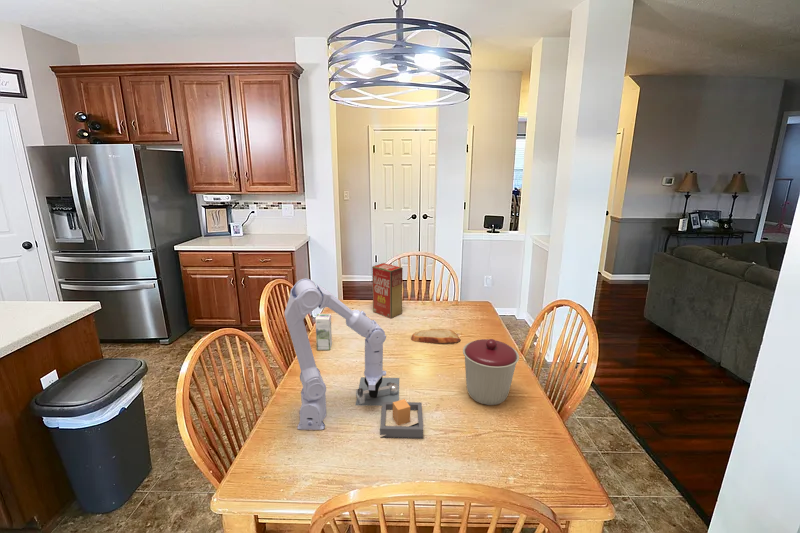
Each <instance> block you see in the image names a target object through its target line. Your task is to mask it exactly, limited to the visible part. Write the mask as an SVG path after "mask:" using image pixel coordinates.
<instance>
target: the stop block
mask: <svg viewBox="0 0 800 533" xmlns="http://www.w3.org/2000/svg"><path fill="white" fill-rule="evenodd" d="M407 402H408V401H407V400H406V399H405V398H403V399H399V401H396V402H393V410H392V420H394V422H395V424H396V426H402V425H405V424H407V423H408V424H409V423H410V422H411V410H410V406H409V404H408V403H407Z"/></svg>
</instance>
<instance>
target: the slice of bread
mask: <svg viewBox="0 0 800 533" xmlns="http://www.w3.org/2000/svg"><path fill="white" fill-rule="evenodd" d="M410 340H411V341H412V342H417V343H422V344H439V345H440V344H442V345H443V344H444V345H445V344H447V345H448V344H458V343H459V342H461V338H460V337H459V335H458V334H457V332H455V331H453V330H451V329H446V328H445V329H444V328H431V329H430V328H429V329H424V330H419V331H416V332H414V333H413V334H412V335H411V338H410Z"/></svg>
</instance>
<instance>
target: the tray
mask: <svg viewBox="0 0 800 533" xmlns="http://www.w3.org/2000/svg"><path fill="white" fill-rule="evenodd" d="M406 402H407V403H408V404H409V406H410V411H417V423H416V422H415V423H413V424H411V425H409V426H408V425H407V426H405V425H403V426H402V425H399V426H398V425H386V418H387V417H386V416H387V415H386V414H387V410H388V411H393V402H382V406H381V414H380V415H381V417H380V427H379V435H381V436H380V439H415V440H416V439H418V440H423V439H424V420H423V419H424V418H423V406H422V403H423V402H415V401H413V402H411V401H409V402H408V401H406Z"/></svg>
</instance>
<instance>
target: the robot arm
mask: <svg viewBox="0 0 800 533" xmlns="http://www.w3.org/2000/svg"><path fill="white" fill-rule="evenodd" d="M317 308H319V309H320V310H323V309H325V308H328V309H330V310H331V311H333V312H334V313H336V314H337V315H338V316H340V317H341V318H343V319H345V325H346V326H347V327H348V328H349V329H351V330H352V331H354V332H355V333H356V334H358V335H360V336H361V337H363V338H364V372H363V374H364V377H365V384H366V385H367V387H368V390H369V395H370V398H377V395H378V389H379V386H380V385H381V383H382V378H384V377H386V376H387V371H386V370H383V369H384V368H383V367H384V366H383V363H384V360H383V359H384V354H383V353H384V346H383V345H384V342H385V341H386V339H387V335H386V333H385V330H384V329H383V328H382V327H381V326H380V325H379V324H378V322H377V321H376V320H375V319H371V318H370V317H369V316H367V313H366V312H365V311H364V310H359V309H353V310H352V309H351V308H349V306H347V305H346V304H345V303H344V302H342V301H341V300H340V299H339V298H337V297H336V296H335V295H334V294H333V293H331V292H330V291H329V290H327V289H326V288H324V287H323V286H322V285H320V284H318V283H315V282H314V281H313V280H312V279H309V278H301V279H299V280H298V281H296V282H295V284H294V285H293V286H292V288H291V289H290V293H289V297H288V300H287V303H286V306H285V310H284V318H285V321H286V324H287V328H288V332H289V334H290V338H291V341H292V345H293V348H294V351H295V354H296V355H295V356H296V358H297V362H298V365H299V368H300V369H299V370H300V374H299V380H300V382H301V385H302V387H301V388H302V389H301V390H300V391H301V392H300V398H301V405H300V409H299V422H298V425H297V430H308V431H310V430H312V431H313V430H314V431H315V430H317V431H320V430H321V431H323V430H325V428H326V425H325V423H324V419H325V418H326V416H327V399H326V398H327V397H326V392H327V386H326V383H325V381H324V379H323V376H322V375H321V371H320V369H319V368H318V366H317V365H316V364H317V363H316V360H315V357H314V354H313V350H312V346H311V342H310V339H309V336H308V332H307V329H306V325H305V322H304V321H305V320H304V319H305V318H306V317H307V315H309V314H311V313H312V311H314V310H316V309H317Z"/></svg>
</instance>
